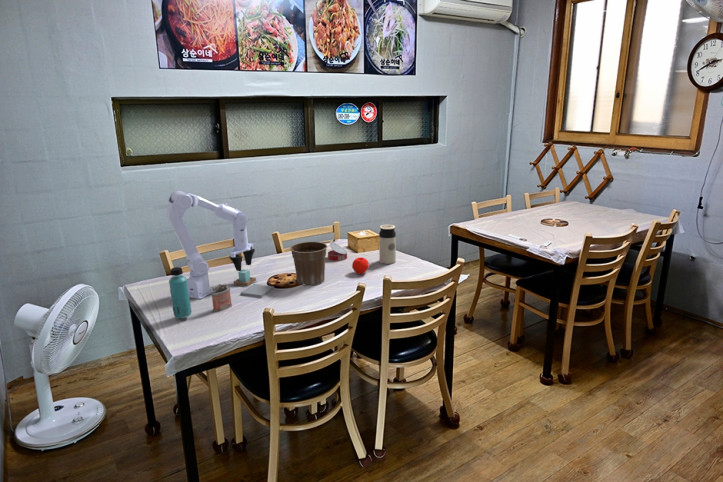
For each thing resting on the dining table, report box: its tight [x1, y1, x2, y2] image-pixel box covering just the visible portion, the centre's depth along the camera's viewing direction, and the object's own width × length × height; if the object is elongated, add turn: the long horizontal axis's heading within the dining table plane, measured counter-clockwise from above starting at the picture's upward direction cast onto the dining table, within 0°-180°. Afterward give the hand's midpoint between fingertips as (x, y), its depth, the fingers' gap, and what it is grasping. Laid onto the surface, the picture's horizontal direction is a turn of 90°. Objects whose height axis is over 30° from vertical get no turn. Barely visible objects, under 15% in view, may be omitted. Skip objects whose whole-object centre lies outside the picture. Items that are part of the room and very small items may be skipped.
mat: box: [240, 283, 275, 298], centre depth 204 cm, size 10×10×1 cm
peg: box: [237, 269, 251, 282], centre depth 213 cm, size 4×4×6 cm
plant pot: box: [289, 241, 328, 287], centre depth 212 cm, size 16×16×16 cm
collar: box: [233, 276, 257, 287], centre depth 213 cm, size 7×7×2 cm
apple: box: [351, 257, 370, 275], centre depth 221 cm, size 8×8×7 cm
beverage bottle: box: [168, 266, 192, 319], centre depth 177 cm, size 6×7×20 cm
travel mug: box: [378, 224, 397, 265], centre depth 235 cm, size 8×8×18 cm
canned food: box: [327, 240, 348, 262], centre depth 244 cm, size 11×10×10 cm
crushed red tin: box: [210, 282, 233, 313], centre depth 187 cm, size 8×3×10 cm, turn 141°
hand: (243, 267), depth 212 cm, fingers open, 7 cm apart
